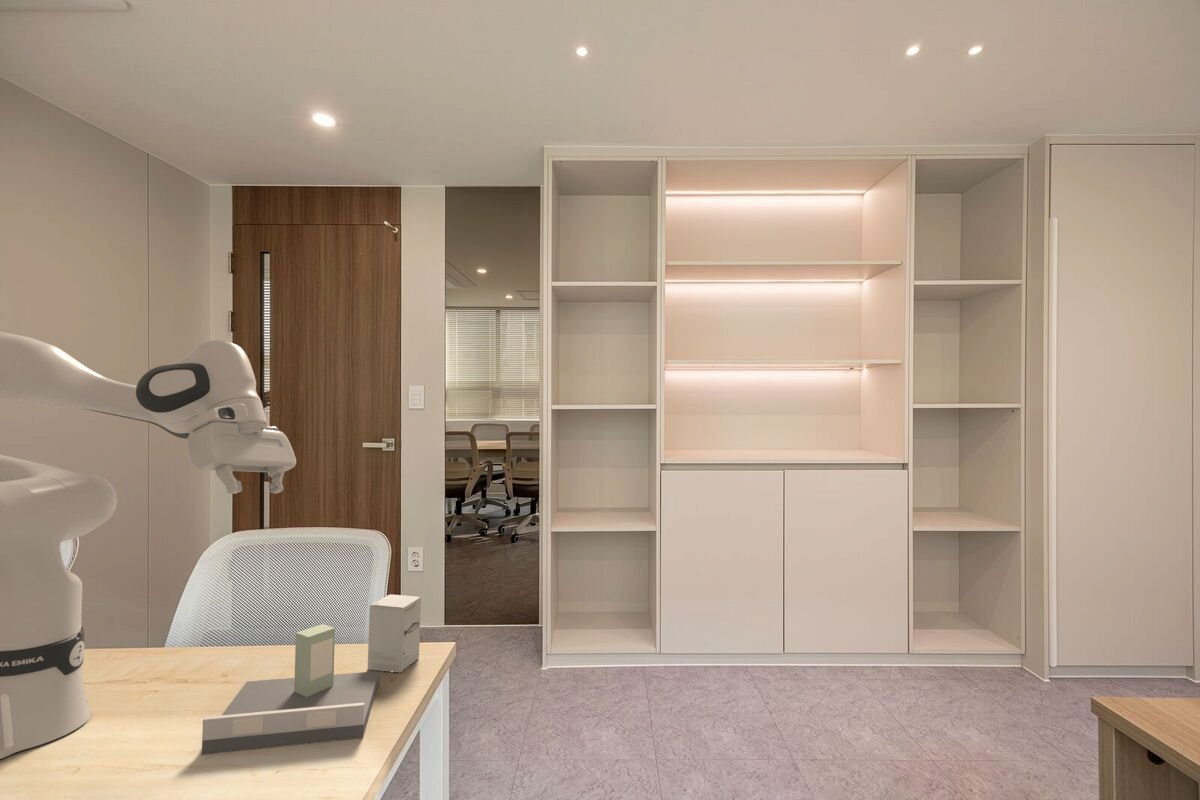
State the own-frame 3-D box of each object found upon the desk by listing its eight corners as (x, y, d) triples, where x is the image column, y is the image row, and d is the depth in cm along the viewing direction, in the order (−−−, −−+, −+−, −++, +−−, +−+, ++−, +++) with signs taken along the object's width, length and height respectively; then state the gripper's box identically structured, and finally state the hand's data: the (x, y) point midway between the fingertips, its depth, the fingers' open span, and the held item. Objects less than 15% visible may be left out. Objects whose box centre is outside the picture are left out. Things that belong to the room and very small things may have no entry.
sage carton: (307, 697, 100) (308, 637, 100) (294, 691, 101) (295, 632, 102) (334, 685, 104) (335, 628, 104) (321, 680, 106) (322, 624, 106)
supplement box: (401, 674, 113) (403, 607, 114) (366, 670, 115) (368, 604, 115) (420, 658, 121) (422, 596, 121) (387, 654, 122) (389, 593, 122)
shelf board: (200, 755, 86) (201, 720, 86) (246, 692, 105) (247, 664, 105) (362, 738, 91) (363, 705, 91) (378, 681, 110) (379, 654, 110)
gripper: (268, 434, 120) (286, 498, 117) (175, 423, 100) (193, 500, 97) (294, 421, 119) (312, 485, 116) (204, 408, 99) (223, 484, 96)
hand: (257, 492), depth 106 cm, fingers open, 8 cm apart
